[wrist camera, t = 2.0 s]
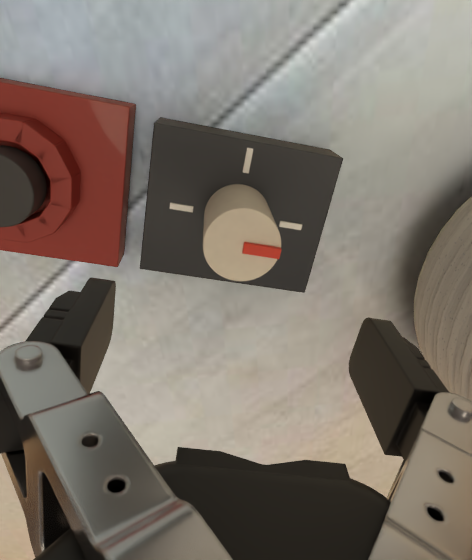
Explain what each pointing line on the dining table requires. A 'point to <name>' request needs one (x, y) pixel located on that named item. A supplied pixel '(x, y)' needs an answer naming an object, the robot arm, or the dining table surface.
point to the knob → (240, 233)
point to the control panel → (227, 171)
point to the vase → (448, 304)
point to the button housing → (71, 171)
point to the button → (19, 186)
